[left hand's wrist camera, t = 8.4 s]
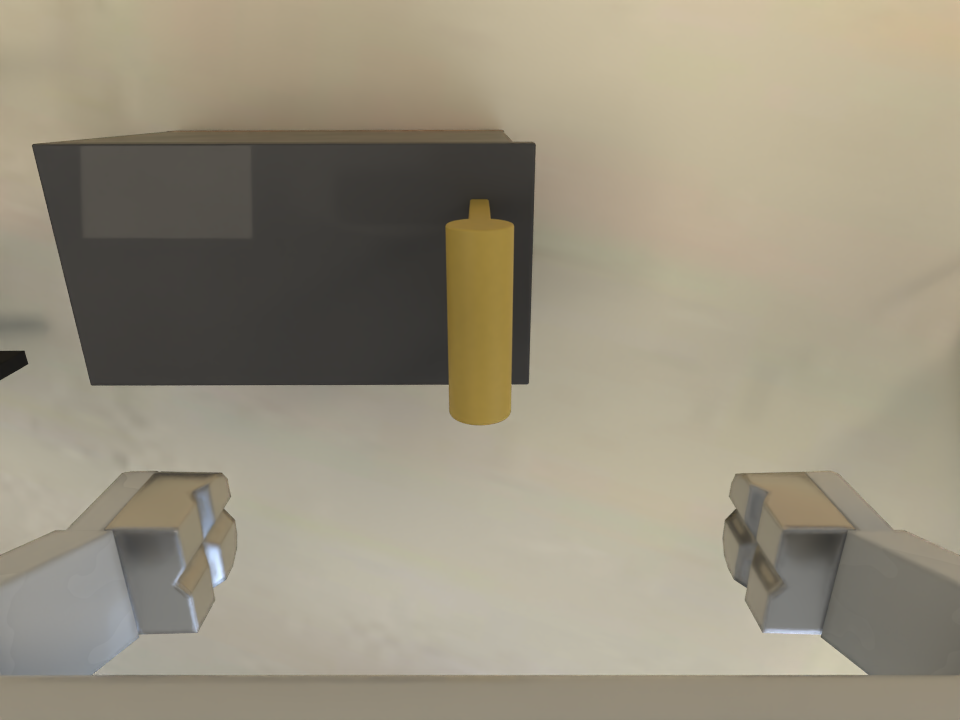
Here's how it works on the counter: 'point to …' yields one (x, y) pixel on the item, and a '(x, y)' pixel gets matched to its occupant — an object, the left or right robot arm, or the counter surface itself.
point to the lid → (300, 263)
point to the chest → (307, 136)
